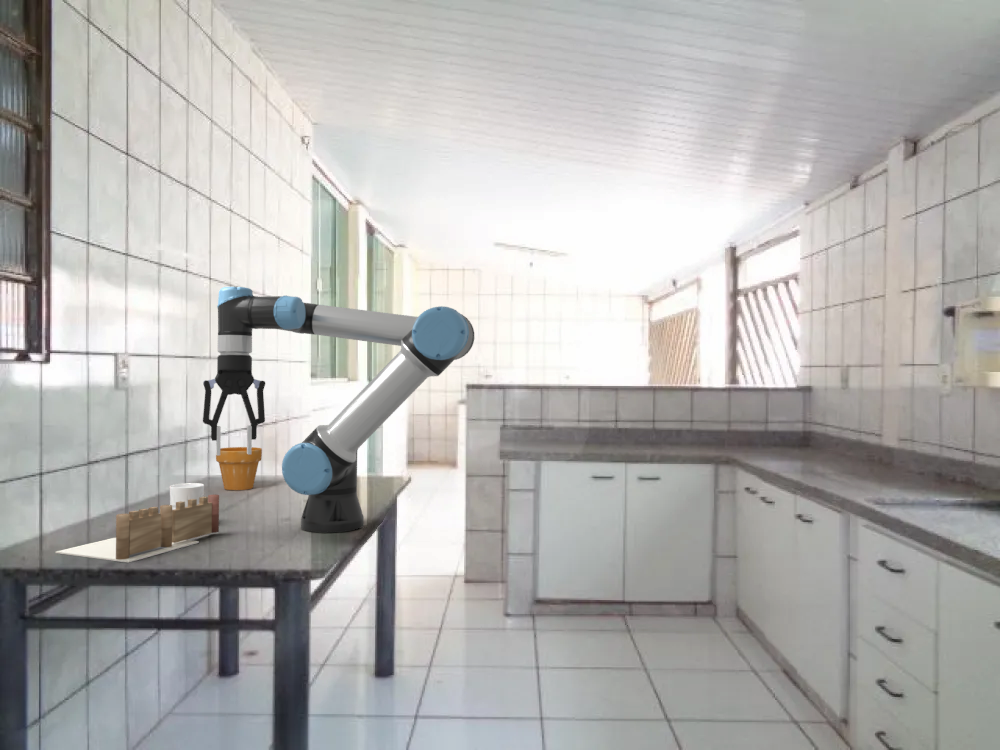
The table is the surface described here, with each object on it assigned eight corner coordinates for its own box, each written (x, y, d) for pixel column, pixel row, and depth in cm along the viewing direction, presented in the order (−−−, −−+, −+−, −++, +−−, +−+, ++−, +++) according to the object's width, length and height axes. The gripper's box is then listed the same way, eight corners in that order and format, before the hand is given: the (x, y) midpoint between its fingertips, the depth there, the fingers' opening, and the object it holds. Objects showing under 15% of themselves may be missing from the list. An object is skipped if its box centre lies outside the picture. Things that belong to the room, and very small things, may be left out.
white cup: (191, 530, 178) (191, 488, 178) (161, 528, 179) (162, 487, 179) (210, 523, 186) (210, 483, 186) (182, 522, 187) (182, 482, 187)
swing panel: (221, 531, 173) (221, 494, 173) (177, 543, 161) (177, 503, 161) (212, 530, 174) (213, 494, 174) (168, 542, 162) (169, 503, 162)
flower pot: (228, 484, 251) (228, 446, 251) (268, 486, 249) (268, 447, 249) (207, 491, 237) (207, 450, 237) (250, 492, 235) (250, 451, 235)
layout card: (199, 542, 164) (199, 540, 164) (128, 562, 147) (128, 560, 147) (130, 535, 171) (130, 533, 171) (55, 553, 154) (55, 551, 154)
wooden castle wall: (174, 547, 160) (174, 504, 160) (121, 561, 147) (122, 515, 147) (165, 546, 161) (166, 503, 161) (112, 560, 148) (113, 514, 148)
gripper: (275, 355, 179) (274, 451, 179) (189, 353, 171) (188, 454, 171) (279, 354, 172) (278, 454, 172) (190, 353, 164) (189, 457, 164)
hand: (233, 454), depth 172 cm, fingers open, 6 cm apart
